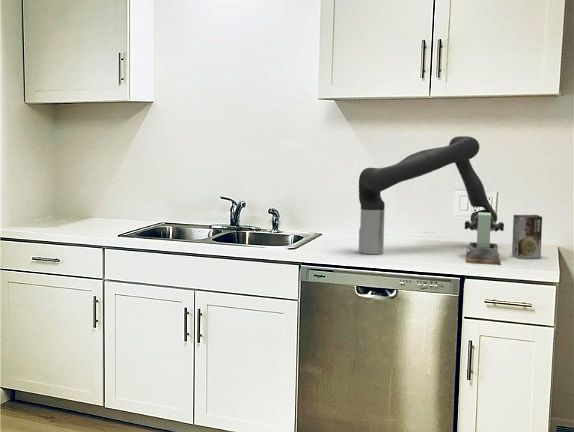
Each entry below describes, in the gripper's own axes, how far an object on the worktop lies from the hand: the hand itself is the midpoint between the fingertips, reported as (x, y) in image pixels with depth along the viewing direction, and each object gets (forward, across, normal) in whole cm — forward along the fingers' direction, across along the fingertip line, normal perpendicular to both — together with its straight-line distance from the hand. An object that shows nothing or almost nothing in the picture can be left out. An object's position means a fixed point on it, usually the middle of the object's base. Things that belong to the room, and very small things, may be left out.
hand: (484, 228), depth 251 cm
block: (-2, 0, +11) cm, 11 cm away
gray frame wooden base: (-1, 0, +12) cm, 12 cm away
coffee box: (-12, +16, +12) cm, 24 cm away
